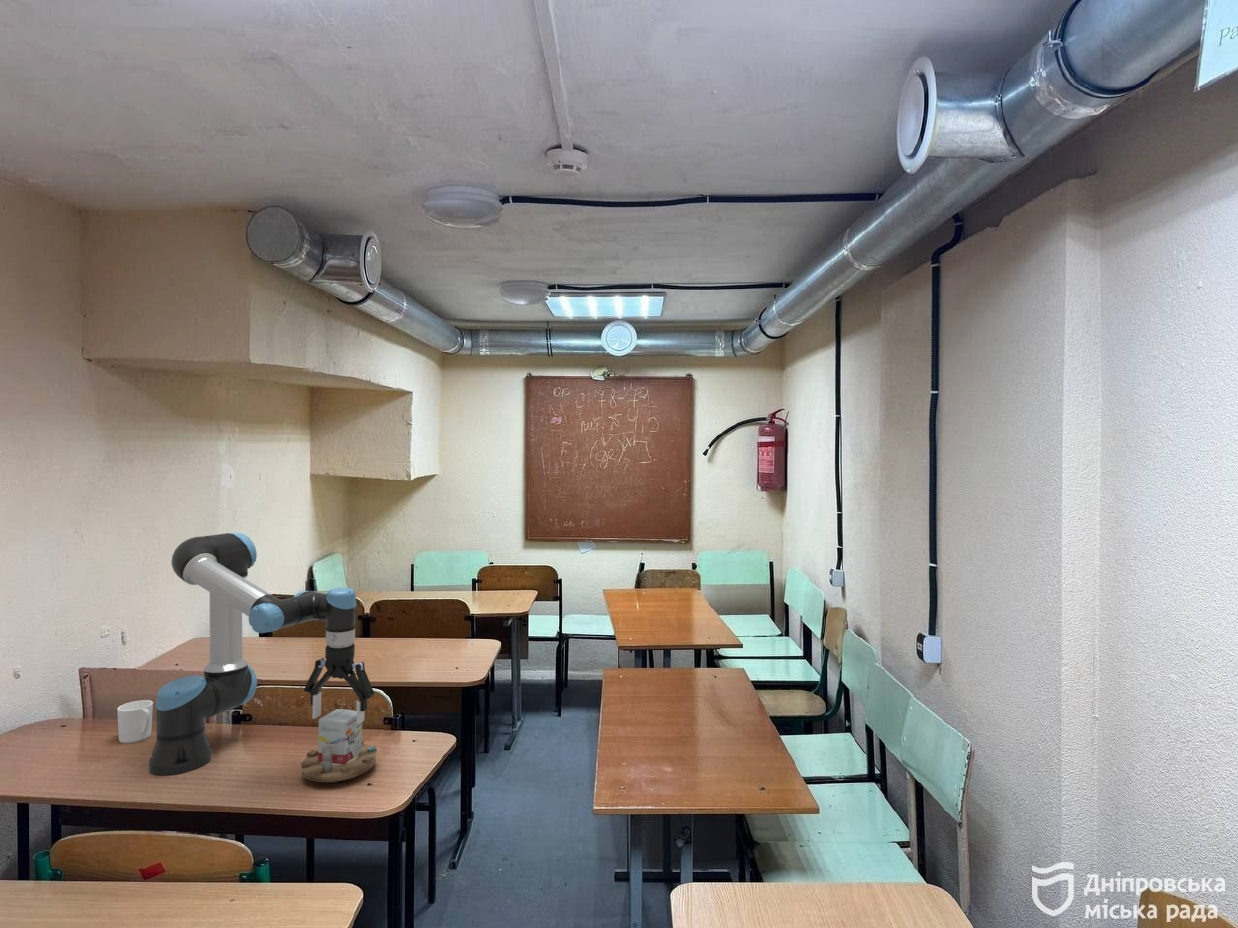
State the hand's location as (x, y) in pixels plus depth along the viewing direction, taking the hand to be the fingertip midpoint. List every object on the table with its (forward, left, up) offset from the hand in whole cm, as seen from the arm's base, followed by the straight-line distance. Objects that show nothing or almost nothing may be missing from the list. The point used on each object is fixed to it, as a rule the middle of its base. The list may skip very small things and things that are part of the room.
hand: (338, 719), depth 181 cm
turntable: (+1, 0, -13) cm, 13 cm away
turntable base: (+1, 0, -15) cm, 15 cm away
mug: (-74, +7, -15) cm, 76 cm away
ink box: (+1, 0, -11) cm, 11 cm away
